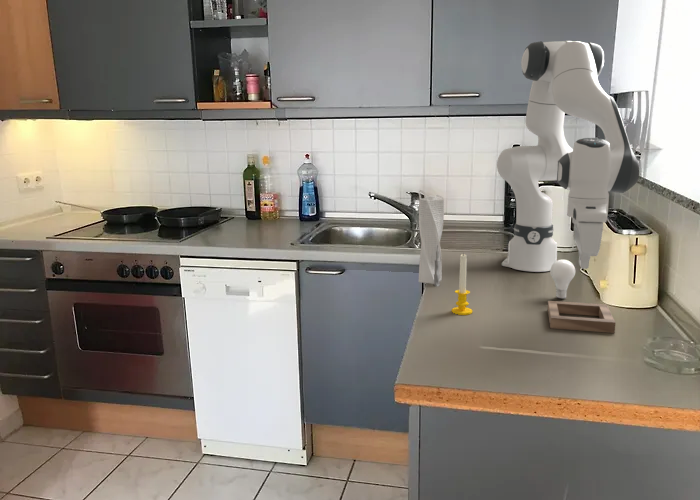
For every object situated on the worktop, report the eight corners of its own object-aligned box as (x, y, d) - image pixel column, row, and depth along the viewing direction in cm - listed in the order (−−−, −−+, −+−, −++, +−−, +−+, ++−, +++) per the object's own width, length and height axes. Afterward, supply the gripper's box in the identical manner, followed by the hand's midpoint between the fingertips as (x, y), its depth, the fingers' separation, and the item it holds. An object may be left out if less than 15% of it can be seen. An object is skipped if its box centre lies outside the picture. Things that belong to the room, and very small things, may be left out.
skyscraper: (411, 285, 179) (412, 191, 173) (421, 279, 186) (422, 188, 180) (438, 288, 175) (440, 193, 169) (447, 282, 182) (450, 190, 176)
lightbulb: (553, 294, 168) (556, 256, 166) (576, 298, 164) (579, 259, 162) (545, 299, 163) (547, 260, 161) (568, 303, 159) (571, 263, 157)
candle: (474, 314, 151) (476, 254, 148) (454, 315, 151) (455, 255, 148) (469, 308, 156) (470, 250, 153) (449, 309, 156) (450, 250, 153)
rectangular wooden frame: (547, 310, 154) (548, 300, 154) (605, 314, 151) (606, 304, 150) (550, 328, 141) (551, 318, 140) (614, 332, 137) (615, 322, 137)
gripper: (569, 203, 151) (565, 256, 153) (577, 215, 131) (573, 276, 134) (596, 203, 149) (592, 257, 152) (608, 215, 130) (603, 277, 133)
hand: (583, 266), depth 143 cm, fingers closed
